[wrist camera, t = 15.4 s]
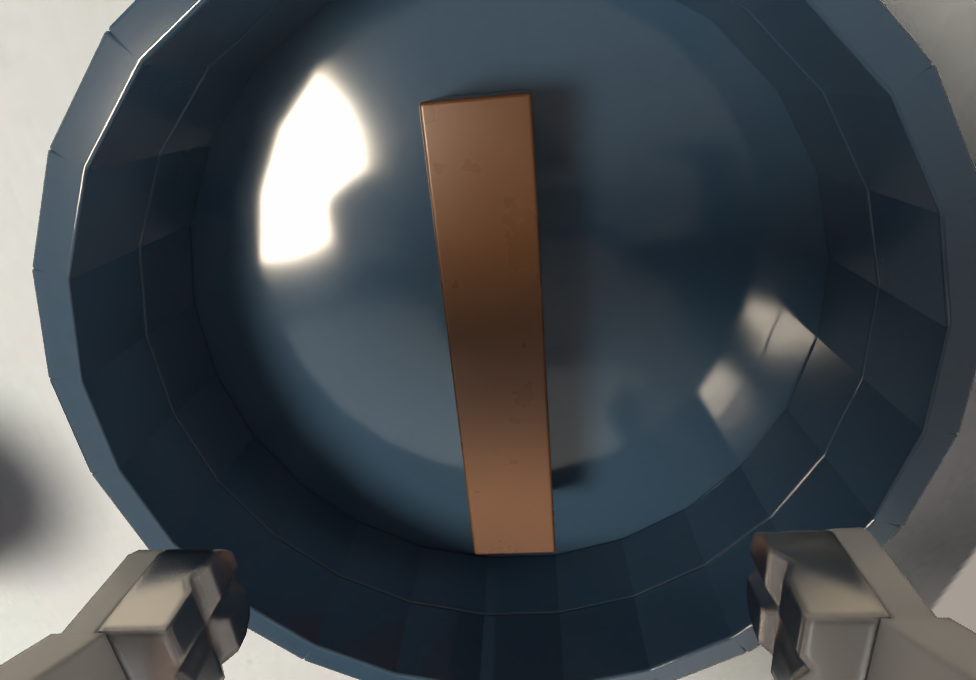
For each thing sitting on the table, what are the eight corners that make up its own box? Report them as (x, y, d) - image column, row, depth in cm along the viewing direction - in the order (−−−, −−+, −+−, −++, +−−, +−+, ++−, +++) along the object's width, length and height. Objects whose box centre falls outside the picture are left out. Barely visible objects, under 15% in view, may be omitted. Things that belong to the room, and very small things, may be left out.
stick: (435, 97, 16) (417, 102, 13) (530, 89, 15) (532, 91, 13) (480, 493, 21) (474, 555, 18) (551, 490, 21) (556, 553, 18)
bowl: (1001, 148, 16) (1245, 184, 11) (621, 623, 24) (650, 782, 19) (287, -250, 14) (129, -470, 8) (126, 431, 22) (-8, 552, 16)
